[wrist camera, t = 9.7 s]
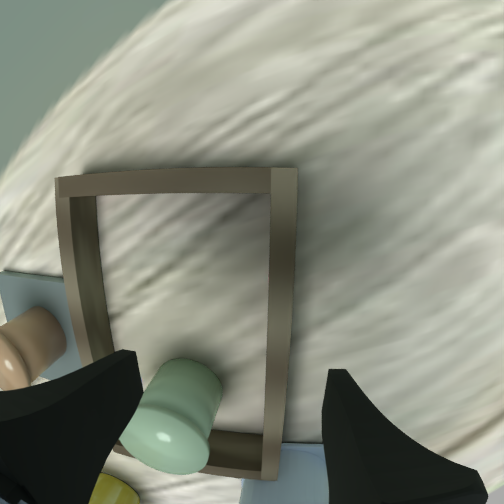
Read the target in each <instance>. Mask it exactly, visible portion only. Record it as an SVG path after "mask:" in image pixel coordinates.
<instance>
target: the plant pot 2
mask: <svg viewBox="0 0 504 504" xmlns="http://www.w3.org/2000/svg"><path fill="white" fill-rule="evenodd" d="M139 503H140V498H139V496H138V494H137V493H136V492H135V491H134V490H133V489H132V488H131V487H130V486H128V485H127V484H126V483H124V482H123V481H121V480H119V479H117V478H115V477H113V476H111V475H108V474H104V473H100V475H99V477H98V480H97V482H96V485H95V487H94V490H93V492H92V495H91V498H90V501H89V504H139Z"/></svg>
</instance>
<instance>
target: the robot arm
mask: <svg viewBox="0 0 504 504" xmlns="http://www.w3.org/2000/svg"><path fill="white" fill-rule="evenodd" d="M143 393H144V392H143V387H142V382H141V377H140V372H139V367H138V361H137V356H136V352H135V351H130V350H124V349H122V350H119V351H116V352H114V353H112V354H110V355H108V356H105V357H103V358H101V359H99V360H97V361H95V362H93V363H91V364H89V365H87V366H85V367H83V368H80V369H78V370H76V371H74V372H71V373H69V374H66V375H64V376H62V377H59V378H57V379H54V380H51V381H48V382H45V383H41V384H38V385H34V386H29V387H25V388H20V389H15V390H7V391H0V504H89V501H90V498H91V495H92V492H93V490H94V487H95V485H96V482H97V480H98V477H99V475H100V473H101V470H102V468H103V466H104V464H105V461H106V459H107V457H108V456H109V454H110V452H111V450H112V449H113V447H114V446H115V444H116V442H117V441H118V439H119V438H120V436H121V435H122V433H123V431H124V430H125V428H126V427H127V425H128V423H129V422H130V420H131V419H132V417H133V415H134V414H135V412H136V410H137V407H138V405H139V403H140V400H141V398H142V396H143ZM322 439H323V444H295V443H281V452H280V461H279V470H278V479H277V481H264V480H252V479H242V492H241V497H240V502H239V504H486V502H487V499H488V493H487V491H486V488H485V486H484V483H483V481H482V479H481V477H480V475H479V473H478V472H477V470H474V469H471V468H468V467H466V466H463V465H460V464H457V463H455V462H452V461H450V460H448V459H446V458H444V457H442V456H440V455H438V454H436V453H434V452H432V451H430V450H428V449H427V448H425V447H423V446H422V445H420V444H419V443H417V442H416V441H414V440H413V439H411V438H410V437H409V436H407V435H406V434H405V433H403V432H402V431H401V430H400V429H398V428H397V427H396V426H395V425H393V424H392V423H391V422H390V421H389V420H388V419H387V418H386V417H385V416H384V415H383V414H382V413H381V412H380V411H379V410H378V409H377V408H376V407H375V406H374V404H373V403H372V402H371V401H370V400H369V399H368V397H367V396H366V395H365V394H364V392H363V391H362V390H361V389H360V387H359V386H358V385H357V383H356V382H355V381H354V379H353V378H352V377H351V375H350V374H349V373H348V371H347V370H346V369H329V370H328V377H327V383H326V389H325V395H324V401H323V407H322Z"/></svg>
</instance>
